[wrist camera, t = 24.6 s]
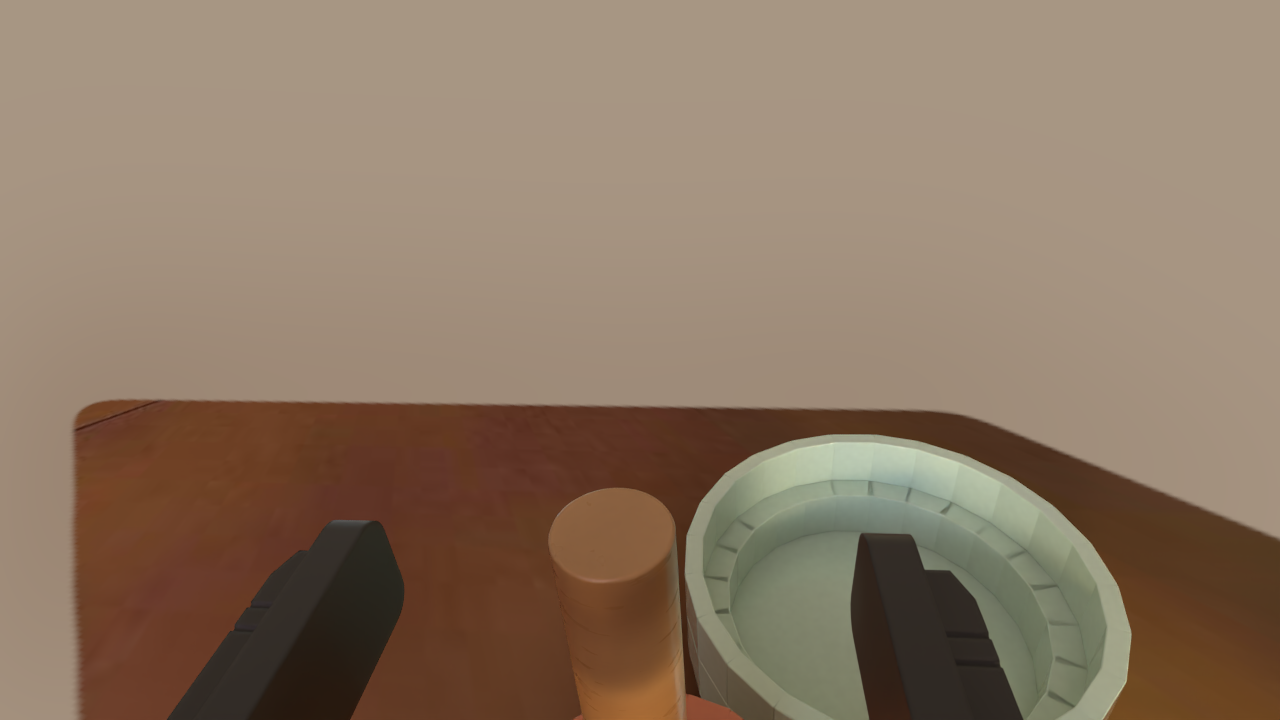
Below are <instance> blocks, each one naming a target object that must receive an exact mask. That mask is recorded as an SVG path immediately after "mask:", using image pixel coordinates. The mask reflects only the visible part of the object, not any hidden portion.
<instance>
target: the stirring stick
mask: <svg viewBox="0 0 1280 720" xmlns="http://www.w3.org/2000/svg"><path fill="white" fill-rule="evenodd" d="M548 548H549V553H550V558H551V563H552V568H553V573H554V578H555V583H556V588H557V593H558V598H559V603H560V608H561V613H562V618H563V623H564V628H565V633H566V638H567V643H568V647H569V652H570V657H571V662H572V667H573V672H574V677H575V682H576V687H577V692H578V697H579V702H580V707H581V712H582V717H583V720H687V709H686V693H685V676H684V660H683V643H682V627H681V610H680V594H679V577H678V561H677V544H676V528H675V523H674V520H673V518H672V515H671V514H670V512H669V511H668V509H667V508H666V507H665V506H664V504H662V503H661V502H660V501H659V500H658V499H656V498H655V497H653V496H651V495H649V494H647V493H645V492H642V491H638V490H634V489H628V488H608V489H601V490H597V491H594V492H590V493H588V494H585V495H583V496H581V497H579V498H577V499H575V500H574V501H572V502H571V503H569V504H568V505H567V506H566V507H564V508H563V509H562V511H561V512H560V513H559V514H558V515H557V517H556V518H555V520H554V522H553V523H552V526H551V529H550V531H549V536H548Z"/></svg>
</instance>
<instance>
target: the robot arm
mask: <svg viewBox="0 0 1280 720" xmlns="http://www.w3.org/2000/svg"><path fill="white" fill-rule="evenodd" d="M403 601H404V583H403V579H402V576H401V573H400V570H399V568H398V565H397V562H396V560H395V557H394V554H393V552H392V549H391V546H390V544H389V541H388V538H387V536H386V533H385V530H384V528H383V526H382V525H381V523H379V522H378V521H359V520H333V521H331V522H329V523H328V524H327V525H326V526H325V527H324V529H323V530H322V531H321V533H320V534H319V536H318V537H317V539H316V540H315V542H314V543H313V545H312V546H311V548H310V549H309V551H298V552H297V553H296V554H295V555H293V556H292V557H291V558H290V559H289V560H287V561H286V562H285V563H284V564H283V565H281V566H280V567H279V568H278V569H277V570H275V571H274V572H273V573H272V574H271V575H270V576H269V578H268V579H267V580H266V582H265V583H264V585H263V586H262V587H261V589H260V590H259V592H258V593H257V594H256V596H255V597H254V599H253V600H252V601H251V607H250V608H246V610H245V611H244V613H243V614H242V615H241V617H240V618H239V620H238V621H237V622H236V624H235V629H234V631H230V632H229V633H228V635H227V636H226V638H225V639H224V640H223V642H222V643H221V645H220V646H219V647H218V649H217V650H216V652H215V653H214V654H213V656H212V657H211V659H210V660H209V661H208V663H207V664H206V666H205V667H204V668H203V670H202V671H201V673H200V674H199V675H198V677H197V678H196V680H195V681H194V682H193V684H192V685H191V687H190V688H189V689H188V691H187V692H186V694H185V695H184V696H183V698H182V699H181V701H180V702H179V703H178V705H177V706H176V708H175V709H174V710H173V712H172V713H171V715H170V716H169V717H168V719H167V720H350V719H351V717H352V715H353V713H354V710H355V708H356V706H357V704H358V702H359V700H360V698H361V696H362V694H363V692H364V689H365V687H366V685H367V683H368V681H369V679H370V677H371V675H372V673H373V671H374V669H375V666H376V664H377V662H378V660H379V658H380V656H381V654H382V652H383V650H384V648H385V646H386V643H387V641H388V639H389V637H390V635H391V633H392V631H393V629H394V627H395V625H396V622H397V620H398V618H399V616H400V613H401V610H402V606H403ZM850 611H851V626H852V634H853V639H854V645H855V650H856V655H857V660H858V665H859V670H860V675H861V680H862V685H863V690H864V695H865V700H866V706H867V711H868V716H869V720H1023V717H1022V715H1021V712H1020V710H1019V707H1018V705H1017V702H1016V700H1015V697H1014V695H1013V692H1012V689H1011V687H1010V684H1009V682H1008V679H1007V677H1006V674H1005V672H1004V669H1003V668H1002V667H1001V666H1000V659H999V657H998V654H997V652H996V649H995V647H994V644H993V642H992V639H990V638H989V631H988V629H987V626H986V624H985V621H984V619H983V616H982V614H981V611H980V609H979V606H978V604H977V601H976V599H975V598H974V597H973V596H972V595H971V593H970V592H969V591H968V590H967V589H966V588H965V587H964V586H963V584H962V583H961V582H960V581H959V580H958V579H957V578H956V577H955V575H954V574H953V573H952V572H951V571H950V570H925V569H924V566H923V563H922V560H921V557H920V554H919V551H918V548H917V545H916V543H915V540H914V538H913V537H912V535H910V534H886V533H861V534H860V536H859V541H858V548H857V555H856V562H855V569H854V577H853V584H852V591H851V602H850Z"/></svg>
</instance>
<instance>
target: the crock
mask: <svg viewBox="0 0 1280 720" xmlns="http://www.w3.org/2000/svg"><path fill="white" fill-rule="evenodd" d="M686 709H687V720H744V719H743V718H742V717H740V716H739V715H738V714H736V713H735V712H734V711H731V709H730V708H727V707H724V706H721V705H718V704H716V703H713V702H710V701H707V700H705V699H702V698H699V697H696V696H693V695H691V694H686ZM572 720H583V717H582V714H581V715H579V716H577V717H576V718H574V719H572Z"/></svg>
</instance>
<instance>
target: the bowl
mask: <svg viewBox="0 0 1280 720" xmlns="http://www.w3.org/2000/svg"><path fill="white" fill-rule="evenodd" d="M861 533H886V534H910V535H912V537H913V538H914V540H915V543H916V545H917V548H918V551H919V554H920V557H921V560H922V563H923V566H924V569H925V570H950V571H951V572H952V573H953V574H954V575H955V577H956V578H957V579H958V580H959V581H960V582H961V583H962V584H963V586H964V587H965V588H966V589H967V590H968V591H969V592H970V593H971V595H972V596H973V597H974V598H975V599H976V601H977V604H978V606H979V609H980V611H981V614H982V616H983V619H984V621H985V624H986V626H987V629H988V631H989V638H990V639H992V642H993V644H994V647H995V649H996V652H997V654H998V657H999V659H1000V666H1001V667H1002V668H1003V669H1004V672H1005V674H1006V677H1007V679H1008V682H1009V684H1010V687H1011V689H1012V692H1013V695H1014V697H1015V700H1016V702H1017V705H1018V707H1019V710H1020V712H1021V715H1022V717H1023V720H1107V719H1108V717H1109V715H1110V713H1111V712H1112V710H1113V708H1114V706H1115V704H1116V702H1117V700H1118V698H1119V696H1120V694H1121V692H1122V690H1123V688H1124V686H1125V684H1126V681H1127V673H1128V664H1129V655H1130V646H1131V637H1132V635H1131V629H1130V626H1129V622H1128V619H1127V615H1126V612H1125V608H1124V604H1123V601H1122V597H1121V594H1120V590H1119V587H1118V585H1117V583H1116V581H1115V580H1114V578H1113V577H1112V575H1111V574H1110V572H1109V570H1108V569H1107V567H1106V566H1105V564H1104V563H1103V561H1102V559H1101V558H1100V556H1099V555H1098V553H1097V551H1096V550H1095V548H1094V547H1093V545H1092V544H1091V543H1090V541H1089V540H1088V539H1087V538H1086V537H1085V536H1083V535H1082V534H1081V533H1080V532H1079V531H1078V530H1077V529H1076V528H1075V527H1074V526H1073V525H1072V524H1071V523H1070V522H1069V521H1068V520H1067V519H1066V518H1065V517H1064V516H1063V515H1062V514H1061V513H1060V512H1059V511H1058V510H1057V509H1056V508H1055V507H1053V505H1052V504H1050V503H1049V502H1047V501H1046V500H1044V499H1043V498H1041V497H1040V496H1038V495H1037V494H1035V493H1034V492H1033V491H1031V490H1030V489H1028V488H1027V487H1025V486H1024V485H1022V484H1021V483H1019V482H1018V481H1016V480H1015V479H1014V478H1011V477H1010V476H1008V475H1006V474H1004V473H1002V472H999V471H997V470H995V469H993V468H991V467H989V466H987V465H985V464H983V463H980V462H978V461H976V460H974V459H972V458H970V457H968V456H965V455H962V454H959V453H956V452H953V451H949V450H946V449H943V448H940V447H936V446H933V445H930V444H926V443H923V442H919V441H914V440H908V439H901V438H895V437H888V436H882V435H872V434H832V435H830V434H829V435H823V436H817V437H811V438H805V439H799V440H793V441H791V442H790V441H789V442H786V443H783V444H781V445H778V446H775V447H773V448H770V449H767V450H765V451H762V452H759V453H757V454H755V455H752V456H751V457H749V458H748V459H746V460H745V461H743V462H741V463H740V464H738V465H737V466H735V467H734V468H732V469H731V470H729V471H728V472H726V473H725V474H724V475H723V476H722V477H721V478H720V480H719V481H718V482H717V483H716V484H715V485H714V487H713V488H712V489H711V490H710V491H709V492H708V494H707V495H706V496H705V497H704V498H703V499H702V501H701V502H700V504H699V506H698V509H697V511H696V514H695V516H694V518H693V521H692V523H691V526H690V528H689V531H688V533H687V537H686V555H685V591H686V610H687V628H688V647H689V654H690V658H691V662H692V666H693V669H694V673H695V677H696V681H697V685H698V689H699V693H700V695H701V698H702V699H705V700H707V701H710V702H713V703H716V704H718V705H721V706H724V707H727V708H730V709H731V711H734V712H735V713H736V714H738V715H739V716H740V717H742V718H743V719H744V720H869V716H868V711H867V706H866V700H865V695H864V690H863V685H862V680H861V675H860V670H859V665H858V660H857V655H856V650H855V645H854V639H853V634H852V626H851V611H850V602H851V591H852V584H853V577H854V569H855V562H856V555H857V548H858V541H859V536H860V534H861Z"/></svg>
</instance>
